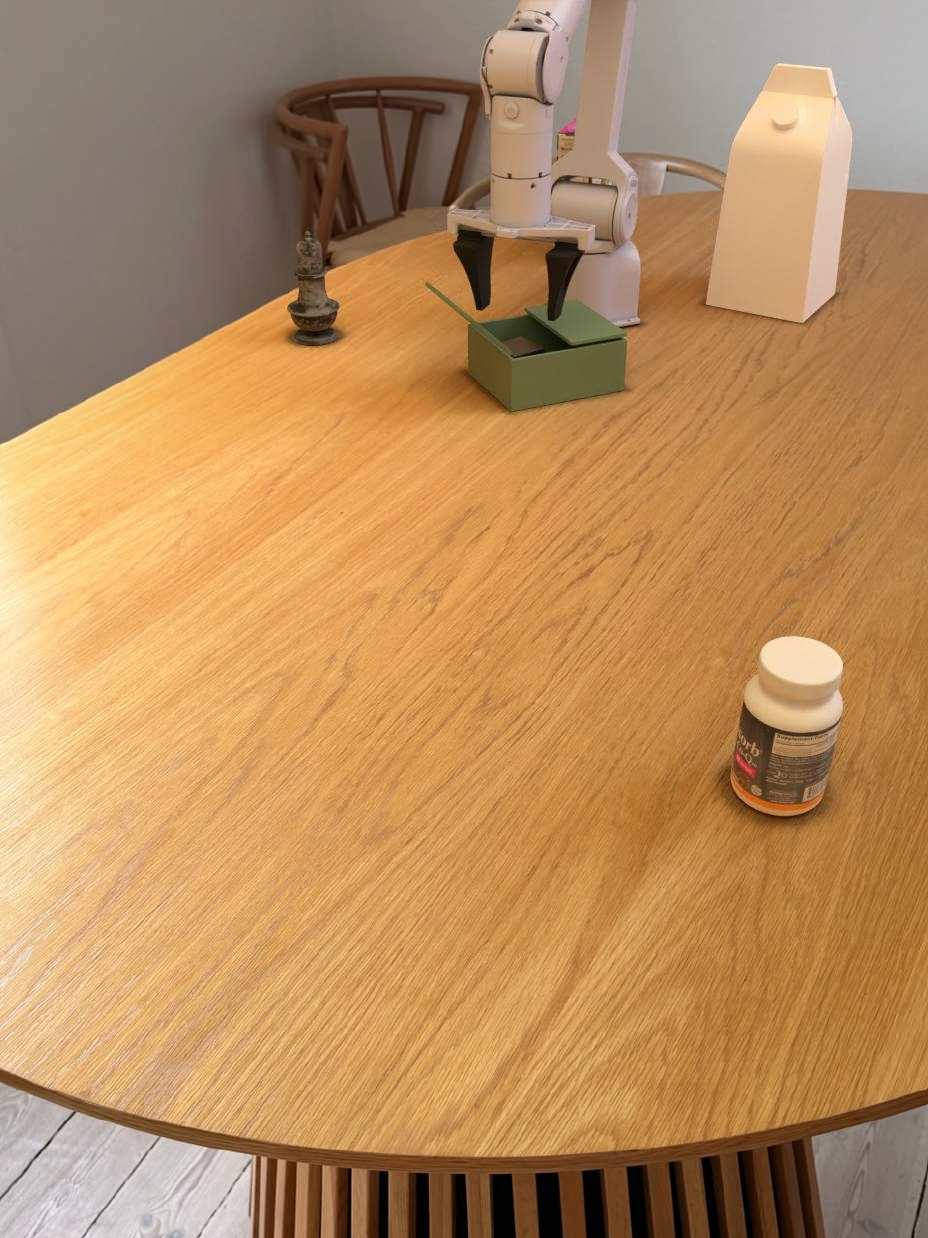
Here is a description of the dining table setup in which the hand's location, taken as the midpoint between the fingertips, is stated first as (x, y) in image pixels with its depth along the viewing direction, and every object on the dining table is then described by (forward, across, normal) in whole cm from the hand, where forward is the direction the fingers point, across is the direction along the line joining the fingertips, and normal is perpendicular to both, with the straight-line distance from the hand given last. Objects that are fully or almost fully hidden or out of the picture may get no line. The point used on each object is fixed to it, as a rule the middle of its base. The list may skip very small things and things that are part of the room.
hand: (518, 312), depth 121 cm
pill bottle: (+8, +37, -51) cm, 64 cm away
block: (+8, 0, 0) cm, 8 cm away
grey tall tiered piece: (+8, -26, +4) cm, 28 cm away
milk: (+8, +19, +36) cm, 42 cm away
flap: (0, -4, -4) cm, 5 cm away
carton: (+8, +2, +2) cm, 9 cm away
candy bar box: (+8, -8, +45) cm, 47 cm away
